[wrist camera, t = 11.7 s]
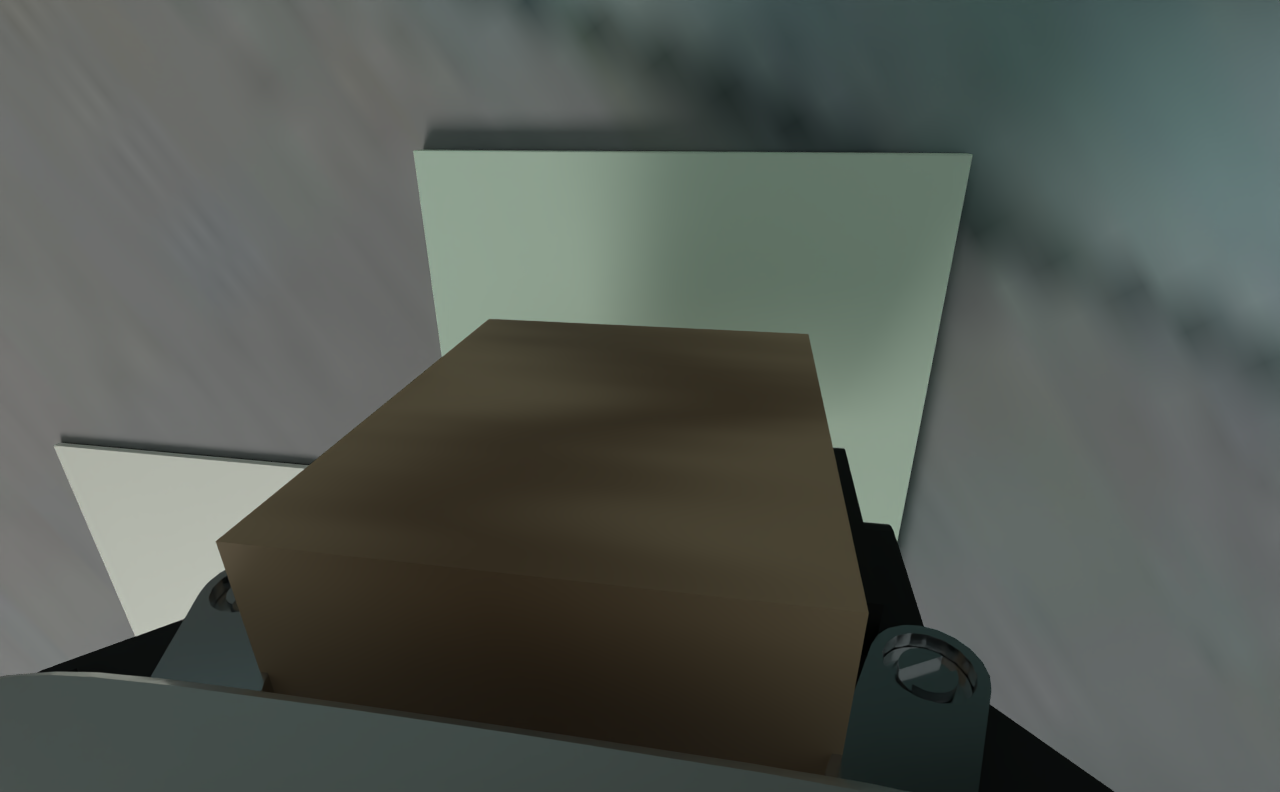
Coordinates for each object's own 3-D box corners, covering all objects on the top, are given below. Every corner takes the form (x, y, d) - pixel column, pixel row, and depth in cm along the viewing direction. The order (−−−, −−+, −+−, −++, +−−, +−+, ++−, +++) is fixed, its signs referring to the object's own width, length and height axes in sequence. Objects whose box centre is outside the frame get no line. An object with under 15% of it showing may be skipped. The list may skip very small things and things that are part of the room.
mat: (966, 152, 13) (972, 154, 13) (879, 607, 18) (882, 617, 18) (421, 149, 15) (413, 150, 15) (476, 562, 20) (471, 570, 20)
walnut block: (808, 333, 12) (868, 613, 5) (779, 596, 14) (798, 997, 8) (489, 318, 12) (215, 540, 6) (515, 567, 15) (340, 906, 9)
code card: (402, 473, 19) (398, 477, 19) (464, 820, 26) (462, 825, 26) (59, 442, 21) (53, 445, 21) (199, 773, 28) (195, 777, 27)
